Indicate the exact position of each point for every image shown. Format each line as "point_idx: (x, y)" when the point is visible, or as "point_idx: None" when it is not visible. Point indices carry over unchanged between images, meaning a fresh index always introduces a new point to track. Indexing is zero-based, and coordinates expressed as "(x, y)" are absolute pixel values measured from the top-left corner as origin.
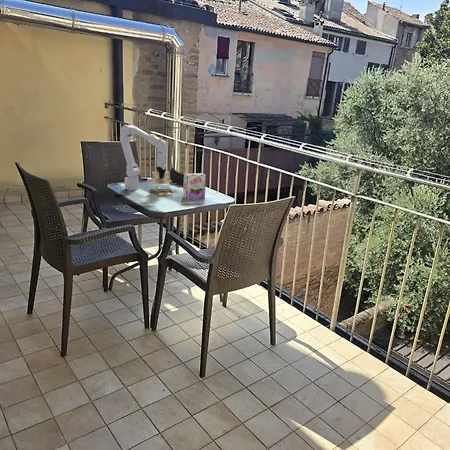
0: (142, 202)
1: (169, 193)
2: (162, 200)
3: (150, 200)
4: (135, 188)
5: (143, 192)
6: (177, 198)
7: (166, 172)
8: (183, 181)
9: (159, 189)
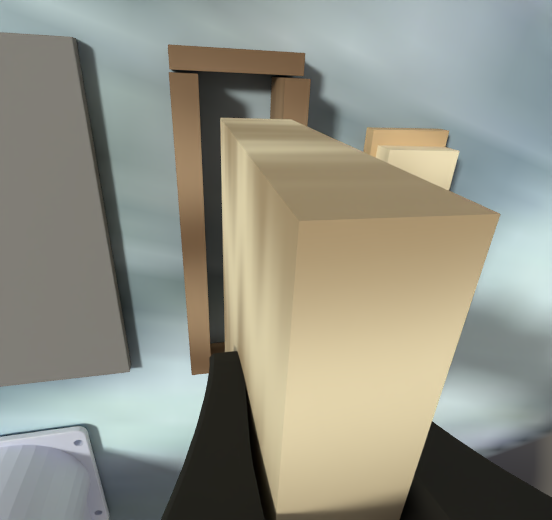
0: (497, 416)
1: (436, 172)
2: (525, 278)
3: (477, 367)
4: (81, 485)
5: (170, 398)
6: (543, 94)
7: (429, 391)
8: None
9: (205, 260)
